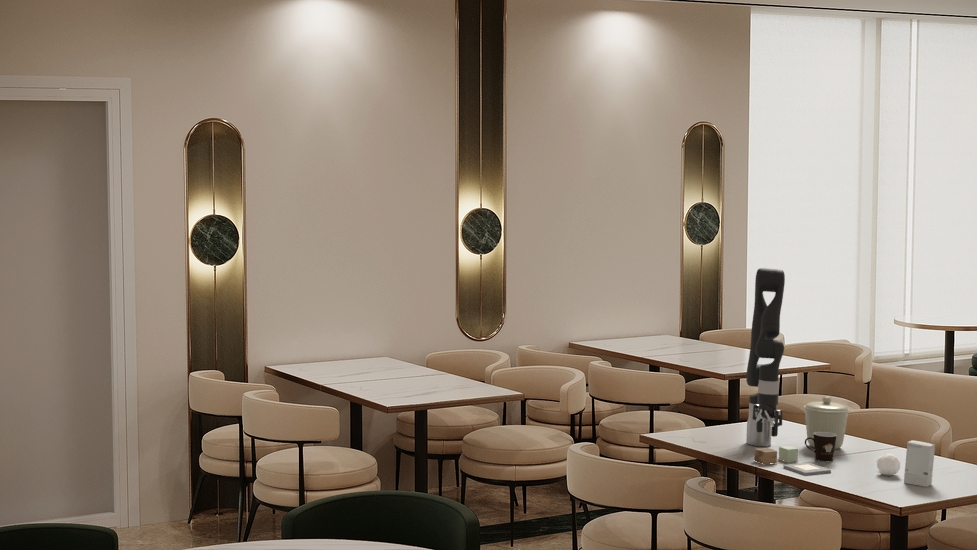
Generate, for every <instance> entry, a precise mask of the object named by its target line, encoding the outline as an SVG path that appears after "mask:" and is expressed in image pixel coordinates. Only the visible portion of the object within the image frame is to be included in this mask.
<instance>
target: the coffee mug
mask: <svg viewBox="0 0 977 550" xmlns="http://www.w3.org/2000/svg"><path fill="white" fill-rule="evenodd" d="M813 436H814V439H813V438H811V437H809V438H807V437H806V438H805V440H804V446H805V447H806V448H808V450H810V451H812V452H813V453H814V456H815V457H814V459H815V461H818V460H819V462H823V461H824V462H825V463H829V462H830V461H831V462H833V460H834V456H835V455H834V454H835V450H836V449H835V443H836V436H837V435H836V434H833V433H828V432H815V433H813ZM808 439H812V440H813V441H814V447H813V448H814V449H812V448H811V447H810V446H808V444H807V442H808ZM834 449H835V450H834ZM828 461H829V462H828ZM824 462H823V463H824Z"/></svg>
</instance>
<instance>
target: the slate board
mask: <svg viewBox="0 0 977 550" xmlns="http://www.w3.org/2000/svg"><path fill="white" fill-rule="evenodd" d="M783 467H784V469H785V468H786V469H785V470H788V469H789V471H792V472H794V473H797V474H800V475H802V476H813V475H814V476H815V475H821V474H822V475H823V474H831V473H832V469H830V468H829V469H828V468H826V467H823V466H820V465H817V464H813V463H811V462H801V463H791V464H790V463H789V464H784V465H783V466H782V468H783Z"/></svg>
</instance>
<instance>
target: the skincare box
mask: <svg viewBox="0 0 977 550" xmlns="http://www.w3.org/2000/svg"><path fill="white" fill-rule="evenodd" d="M935 452H936V444H934V443H929V442H924V441H919V440H909V441H907V445H906V452H905V453H906V454H905V466H904V475H903V483H904V484H908V485H912V486H913V485H914V486H919V487H923V488H924V487H926V488H927V487H930V486H932V482H933V470H934V464H935V463H934V461H935Z"/></svg>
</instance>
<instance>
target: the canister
mask: <svg viewBox="0 0 977 550" xmlns="http://www.w3.org/2000/svg"><path fill="white" fill-rule="evenodd" d="M821 400H822V401H810V402H808V403H806V404H803V409H804V412H805V413H804V415H805V427H806V428H805V429H806V439H807V438H809V437H811V438H813V439H814V436H813V433H815V432H828V433H833V434H836V435H837V436H836V443H835V449H834V451H835V450H838V449H839V450H840V449H841V447H842V446H843V444H844V438H845V434H846V428H847V421H848V414H849V412H850V411H851V409H850V408H849V407H847V406H846V405H844V404H842V403H839V402H832V398H831V397H830V396H823V397H822V398H821ZM807 442H808V444H809V447H812V448H814V441H813V440H812V439H808V440H807Z"/></svg>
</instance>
